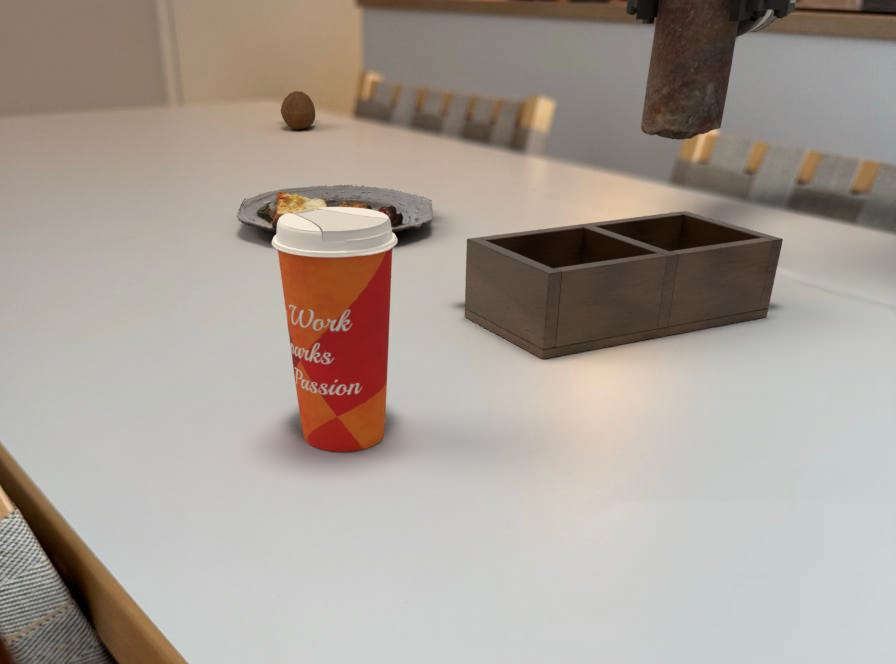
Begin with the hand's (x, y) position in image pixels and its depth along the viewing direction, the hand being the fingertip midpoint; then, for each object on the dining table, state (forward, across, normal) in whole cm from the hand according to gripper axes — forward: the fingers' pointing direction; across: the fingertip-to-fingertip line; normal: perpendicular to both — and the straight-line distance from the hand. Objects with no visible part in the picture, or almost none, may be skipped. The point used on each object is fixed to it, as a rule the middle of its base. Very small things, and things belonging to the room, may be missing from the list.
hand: (688, 1), depth 81 cm
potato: (-82, +88, -24) cm, 123 cm away
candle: (-5, 0, -11) cm, 12 cm away
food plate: (-12, +41, -24) cm, 49 cm away
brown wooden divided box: (+10, +1, -24) cm, 26 cm away
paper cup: (+44, +11, -24) cm, 51 cm away
